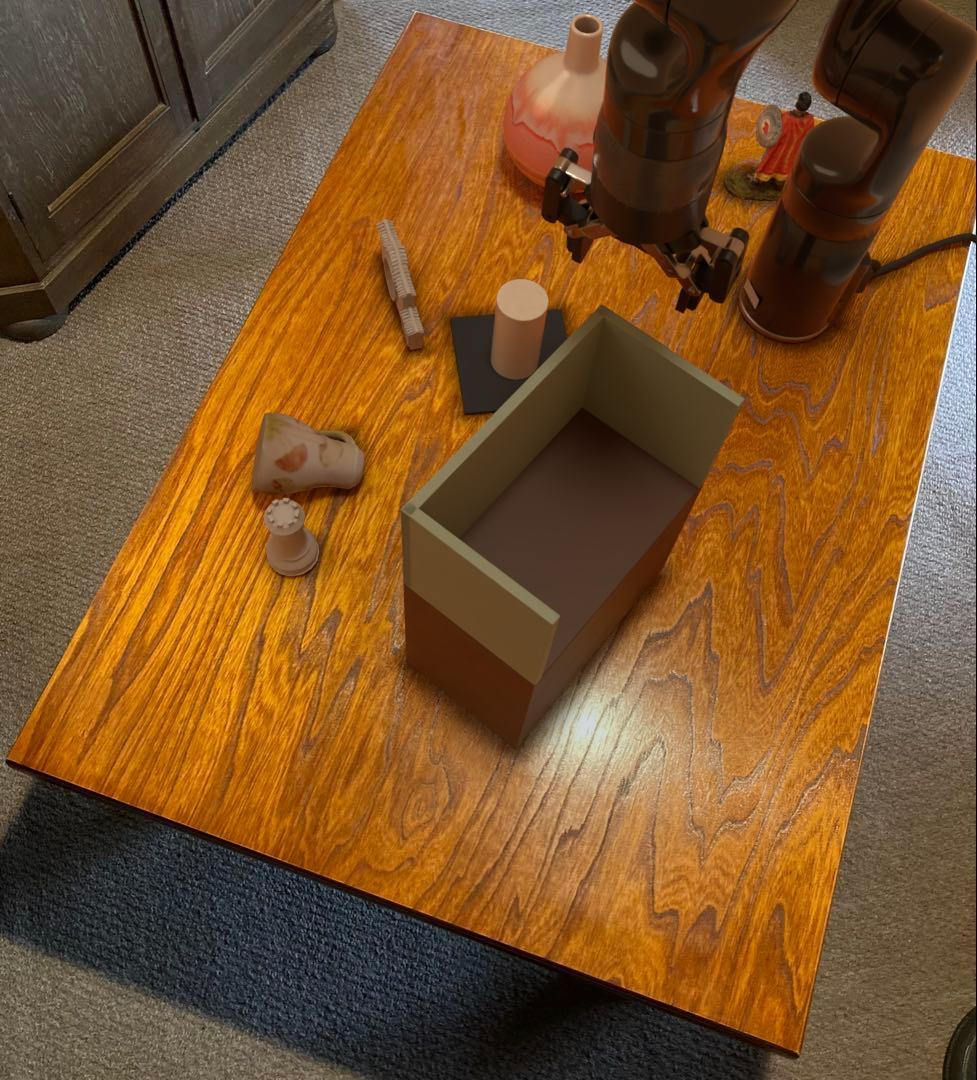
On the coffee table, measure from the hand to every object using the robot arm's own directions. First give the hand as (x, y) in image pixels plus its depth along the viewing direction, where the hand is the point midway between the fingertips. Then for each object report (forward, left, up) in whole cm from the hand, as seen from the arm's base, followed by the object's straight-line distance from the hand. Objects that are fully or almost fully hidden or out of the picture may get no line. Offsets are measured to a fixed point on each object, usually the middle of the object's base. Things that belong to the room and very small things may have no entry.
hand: (633, 276), depth 80 cm
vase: (-3, -33, -22) cm, 40 cm away
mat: (+6, -9, -22) cm, 25 cm away
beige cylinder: (+6, -9, -22) cm, 24 cm away
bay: (+8, +17, -22) cm, 29 cm away
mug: (+26, +1, -22) cm, 34 cm away
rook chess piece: (+28, +9, -22) cm, 37 cm away
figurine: (-24, -29, -22) cm, 44 cm away
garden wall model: (+16, -17, -22) cm, 32 cm away
